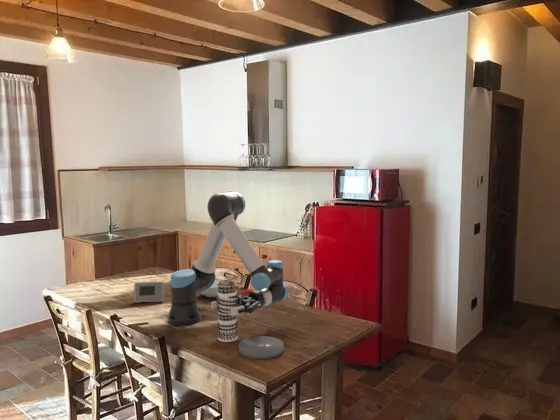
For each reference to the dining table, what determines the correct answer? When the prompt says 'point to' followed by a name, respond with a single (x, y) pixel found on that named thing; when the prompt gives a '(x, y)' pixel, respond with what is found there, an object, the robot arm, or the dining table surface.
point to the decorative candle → (227, 311)
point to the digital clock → (149, 291)
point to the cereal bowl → (211, 290)
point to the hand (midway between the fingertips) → (221, 309)
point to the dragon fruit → (246, 292)
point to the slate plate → (261, 347)
